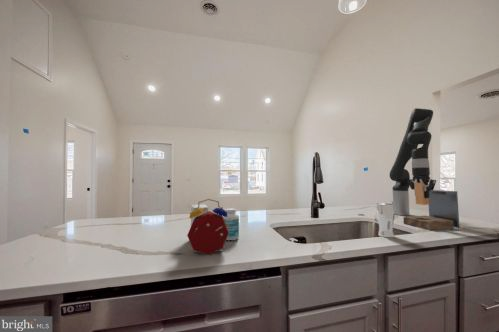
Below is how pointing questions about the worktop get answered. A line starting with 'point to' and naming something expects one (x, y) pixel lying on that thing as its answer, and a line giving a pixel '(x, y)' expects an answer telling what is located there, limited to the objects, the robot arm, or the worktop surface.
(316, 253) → the worktop surface
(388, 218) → the beer glass
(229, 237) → the pill bottle
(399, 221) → the worktop surface
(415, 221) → the socket block
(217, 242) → the alarm clock
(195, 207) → the skincare box
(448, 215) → the thin grey panel
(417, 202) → the peg
